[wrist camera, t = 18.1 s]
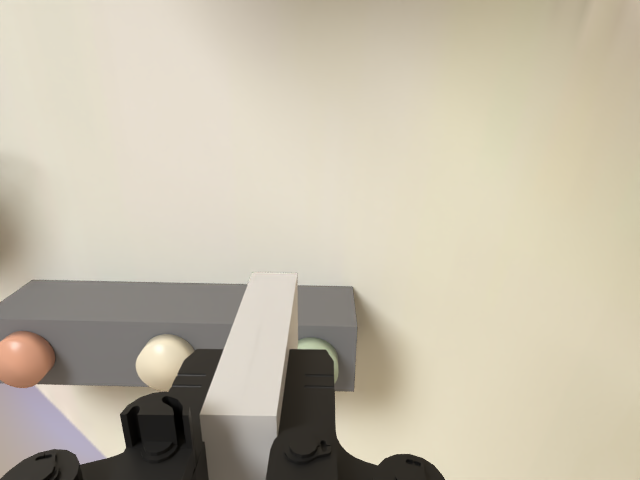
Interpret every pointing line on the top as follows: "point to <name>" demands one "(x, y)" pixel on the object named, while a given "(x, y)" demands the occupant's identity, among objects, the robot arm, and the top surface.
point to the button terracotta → (25, 359)
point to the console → (157, 323)
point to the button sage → (320, 344)
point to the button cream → (162, 360)
